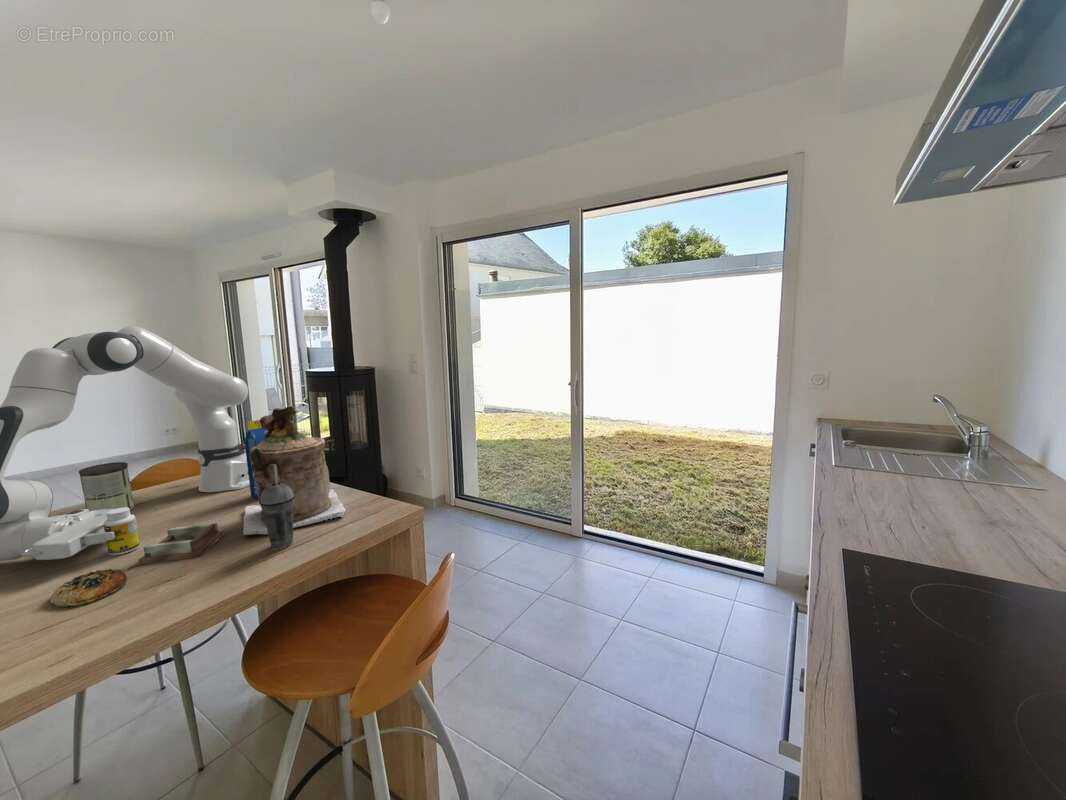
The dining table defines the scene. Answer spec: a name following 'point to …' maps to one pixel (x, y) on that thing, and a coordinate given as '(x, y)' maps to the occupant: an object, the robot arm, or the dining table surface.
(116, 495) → the coffee can
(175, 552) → the clip cradle
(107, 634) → the dining table surface
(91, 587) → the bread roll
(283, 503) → the beverage cup
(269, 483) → the cookie jar
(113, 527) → the supplement bottle
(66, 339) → the robot arm
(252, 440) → the blue food package
